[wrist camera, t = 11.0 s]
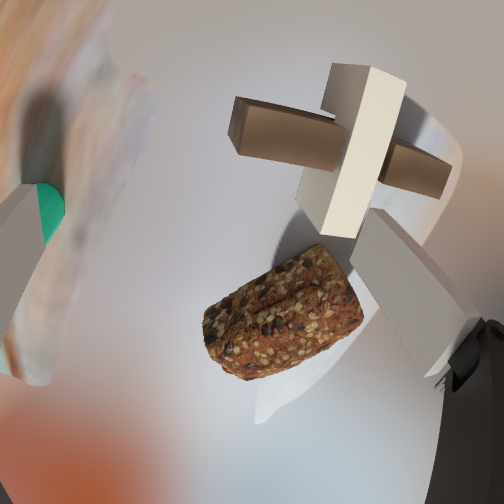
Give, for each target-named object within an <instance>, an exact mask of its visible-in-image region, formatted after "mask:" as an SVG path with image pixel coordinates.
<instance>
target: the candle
mask: <svg viewBox="0 0 504 504" xmlns="http://www.w3.org/2000/svg"><path fill="white" fill-rule="evenodd" d="M35 184H36V185H37V194H38V203H39V211H40V218H41V224H42V230H43V236H44V242H45V247H46V245H47V244H48V242H49V240H50V239H51V237H52V236H53V234H54V233H55V231H56V229H57V228H58V226H59V225H60V223H61V221H62V219H63V217H64V215H65V208H64V201H63V199H62V197H61V195H60V194H59V192H58V190H56V189H55V188H53V187H52V186H50V185H49V184H47V183H35Z"/></svg>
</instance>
